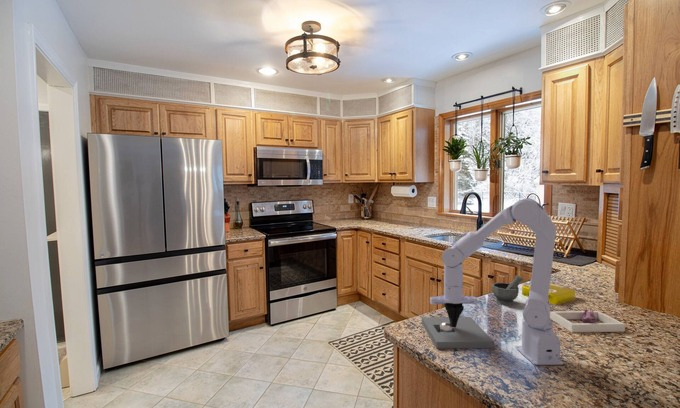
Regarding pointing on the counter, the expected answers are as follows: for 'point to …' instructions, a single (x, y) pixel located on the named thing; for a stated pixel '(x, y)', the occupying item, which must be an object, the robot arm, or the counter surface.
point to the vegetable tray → (607, 326)
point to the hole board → (457, 333)
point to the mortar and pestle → (506, 291)
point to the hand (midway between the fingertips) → (453, 325)
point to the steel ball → (445, 327)
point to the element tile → (554, 293)
